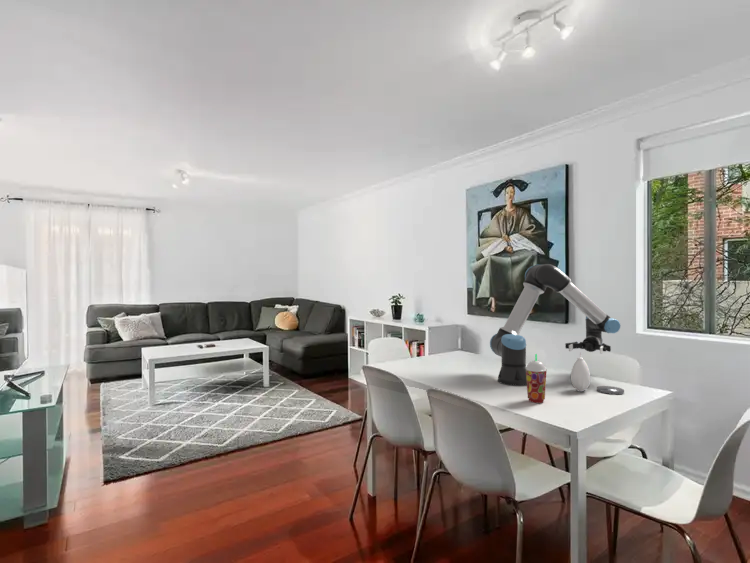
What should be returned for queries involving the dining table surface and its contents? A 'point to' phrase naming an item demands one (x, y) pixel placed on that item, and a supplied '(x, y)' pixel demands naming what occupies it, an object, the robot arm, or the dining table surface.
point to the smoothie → (536, 381)
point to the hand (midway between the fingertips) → (585, 349)
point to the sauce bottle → (580, 375)
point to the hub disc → (610, 390)
